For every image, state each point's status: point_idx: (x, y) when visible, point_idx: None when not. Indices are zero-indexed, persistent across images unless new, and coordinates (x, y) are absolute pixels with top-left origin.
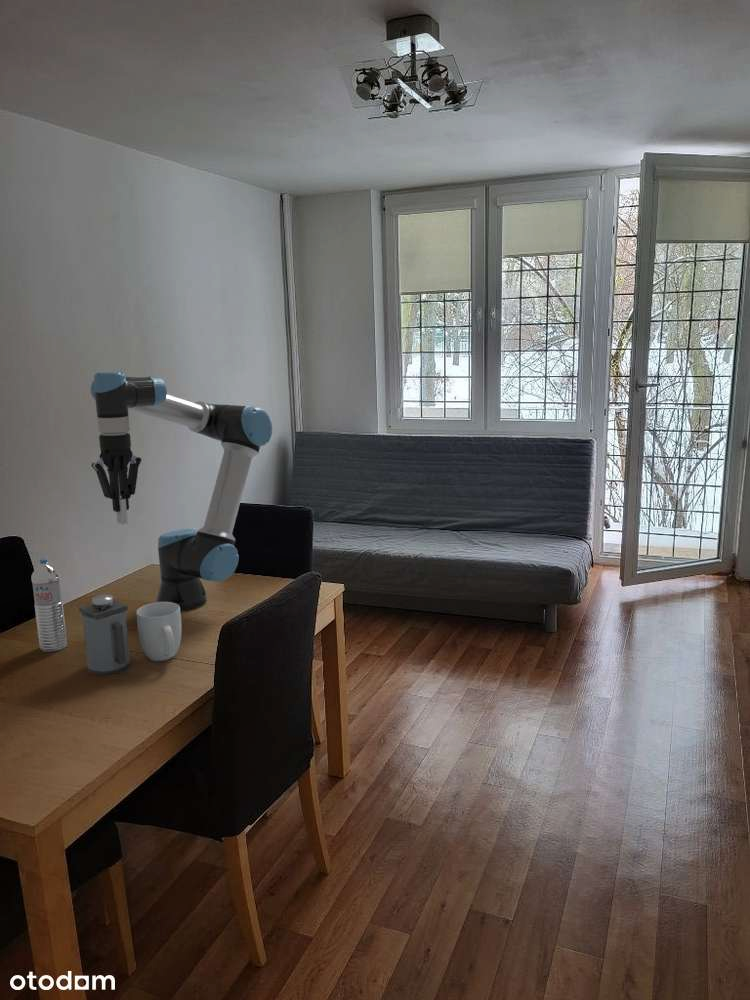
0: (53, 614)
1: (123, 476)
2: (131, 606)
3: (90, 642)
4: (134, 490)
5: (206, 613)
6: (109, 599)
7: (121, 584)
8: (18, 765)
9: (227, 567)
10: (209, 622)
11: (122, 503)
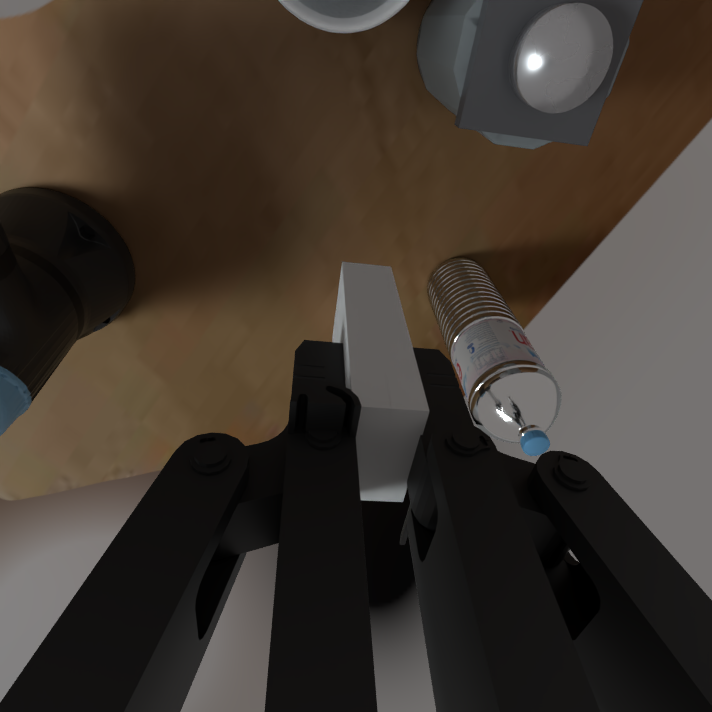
0: (497, 303)
1: None
2: (184, 346)
3: None
4: (174, 477)
5: (29, 122)
6: (572, 3)
7: (131, 465)
8: None
9: None
10: (57, 41)
11: (396, 376)
